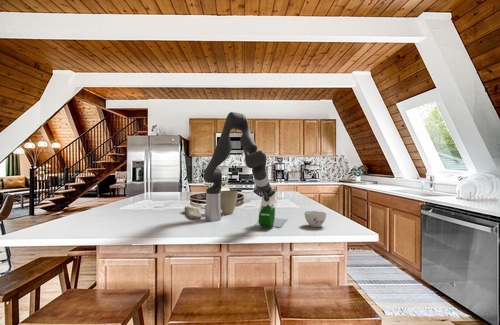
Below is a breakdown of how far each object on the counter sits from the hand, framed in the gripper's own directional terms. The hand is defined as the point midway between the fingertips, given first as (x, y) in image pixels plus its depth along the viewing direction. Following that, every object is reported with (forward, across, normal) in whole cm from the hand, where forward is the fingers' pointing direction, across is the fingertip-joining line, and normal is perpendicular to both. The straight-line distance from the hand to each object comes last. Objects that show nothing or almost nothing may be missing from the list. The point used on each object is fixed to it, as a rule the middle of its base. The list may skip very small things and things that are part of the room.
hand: (267, 200), depth 152 cm
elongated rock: (+24, +58, -1) cm, 63 cm away
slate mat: (+19, 0, +3) cm, 19 cm away
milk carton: (+6, 0, +13) cm, 14 cm away
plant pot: (+33, +36, -10) cm, 50 cm away
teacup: (+19, -26, +3) cm, 33 cm away
